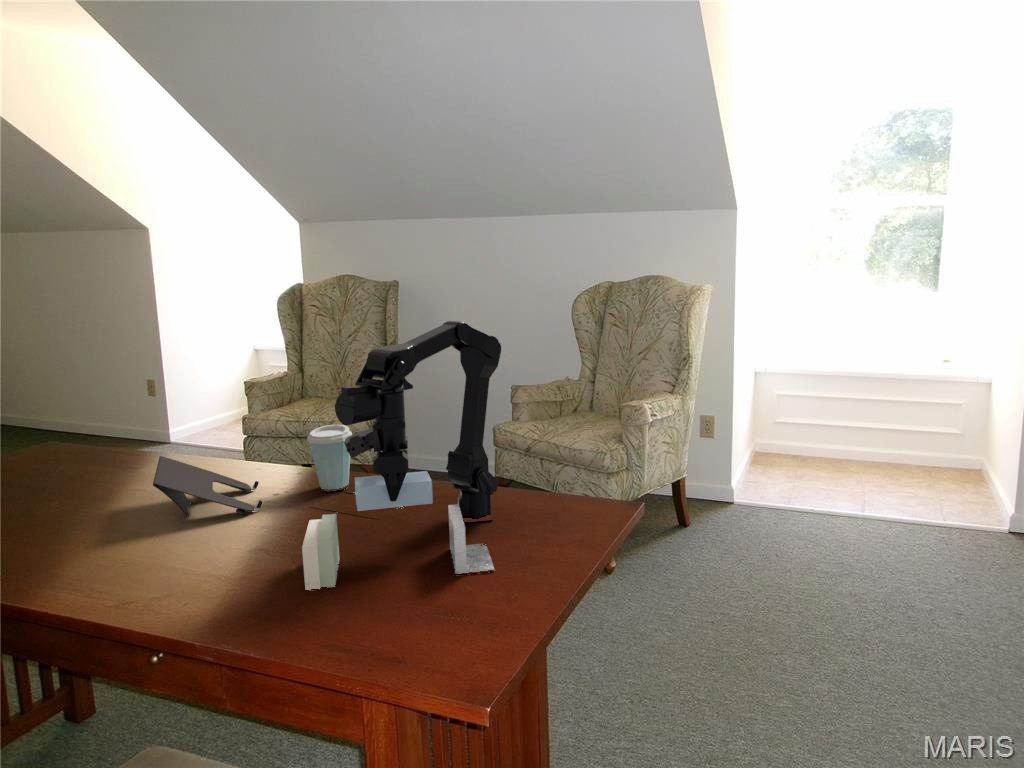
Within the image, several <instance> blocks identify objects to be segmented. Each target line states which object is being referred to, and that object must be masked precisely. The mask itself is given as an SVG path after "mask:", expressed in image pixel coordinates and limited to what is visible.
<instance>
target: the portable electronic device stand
mask: <svg viewBox="0 0 1024 768" xmlns="http://www.w3.org/2000/svg"><path fill="white" fill-rule="evenodd" d="M153 478H154V479H153V481H152V486H153V487H154V488H156V489H157V490H159V491H160V492H161V493H163V494H164V495H165V496H167V497H168V498H169V499H170V500H171V501H172V502H173V503H174V504H175V505H176V506H177V507H178V508H179V509H180V510H181V511H182V513H184V514H185V515H186V516H187V517H188V518H189V516H190V517H191V515H189V514H190V512H189V507H190V506H191V505H190V502H191V501H190V499H189V498H188V497H187V496H186V495H188V496H191V497H195V498H198V499H202V500H205V501H209V502H212V503H215V504H218V505H222V506H223V505H224V506H226V507H227V506H228V507H231V508H234V509H236V510H235V513H238V514H239V515H243V516H244V515H246V514H247V512H249V513H253V512H252V511H258V510H259V511H260V509H261V508H262V505H263V503H264V502H263V500H259V501H258V502H257V505H256V507H255V505H254V504H250V503H248V502H244V501H242V500H239V499H236V498H234V497H231V496H228V495H224V494H222V493H219V492H216V491H215V490H214V489H213V488H214V487H213V485H214V483H217V484H218V483H219V484H222V485H225V486H228V487H230V488H234V489H237V490H239V491H240V490H241V491H244V492H246V491H251V490H255V489H257V487H258V485H259V484H260V483H259V481H257V480H256V481H254V482H253V483H254V484H253V486H252V487H251V486H250V485H249V484H248V483H246V482H244V481H243V482H242V481H239V480H238V479H235V478H231V477H228V476H226V475H223V474H220V473H217V472H214V471H210V470H207V469H204V468H201V467H198V466H195V465H192V464H189V463H185V462H183V461H179V460H176V459H172V458H170V457H167V456H162V455H160V456H159V457H158V461H157V466H156V470H155V473H154V477H153ZM255 491H256V490H255ZM259 511H258V512H259Z"/></svg>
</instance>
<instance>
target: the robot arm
mask: <svg viewBox="0 0 1024 768" xmlns="http://www.w3.org/2000/svg"><path fill="white" fill-rule="evenodd" d="M450 347H451V348H453V349H454V350H457V352H459V353H460V355H459V357H460V364H461V367H462V369H463V372H464V374H465V384H464V393H463V394H464V395H463V404H462V414H461V424H460V433H459V443H458V444H457V446H456V448H455V449H454V450H453V451H452V450H449V451H448V453H447V464H446V467H445V471H447V476H448V477H447V478H449V480H450V481H451V484H452V487H453V489H454V490H459V491H460V492H459V493H460V495H457V504H459V507H460V511H461V514H462V518H472V519H479V518H482V517H485V516H487V515H492V495H493V494H494V493H495V492H497V491H498V486H499V480H498V479H497V478H496V477H495V476H493V474H492V473H491V472H490V471H489V458H488V454H487V452H486V450H485V448H484V437H485V435H484V434H485V425H486V416H487V408H488V407H487V406H488V397H489V389H490V388H489V387H490V378H491V377H492V375H494V373H495V371H496V370H497V368H498V366H499V363H500V362H499V361H500V359H501V353H502V344H501V342H499V339H498V338H497V337H496V336H493V335H489V334H486V333H484V332H483V331H480V330H478V329H476V328H473V327H472V326H471V325H469V324H467V323H465V322H464V321H457V320H448V321H446V322H444V323H442V325H439V326H438V327H435V328H433V329H431V330H429V331H427V332H425V333H423V334H420V335H418V336H417V337H414V338H412V339H410V340H408V341H405V342H403V343H397V344H389V345H385V346H381V347H375V348H373V349H372V350H370V351H369V352H368V353H367V358H366V361H365V364H364V365H363V367H362V369H361V372H360V373H359V376H358V378H357V379H356V382H355V385H353V386H348V385H346V386H341V388H340V392H341V393H340V394H339V395H338V396H337V398H336V402H335V404H334V412H335V415H336V417H337V420H338V421H339V422H340V423H341V425H346V426H351V425H355V424H360V423H363V422H368V421H373V422H372V427H370V428H367V429H364V430H361V431H359V432H356V433H354V434H352V435H351V436H349V437H347V438H346V439H345V442H344V444H345V446H346V448H347V449H346V451H347V452H349V455H350V459H353V458H356V457H358V456H359V455H361V454H364V453H365V452H368V451H371V450H372V449H373V452H374V453H375V452H376V454H375V455H374V456H373V460H372V461H373V462H372V465H373V468H372V469H373V473H375V474H379V475H381V476H382V477H383V478H384V480H385V484H386V487H387V491H388V494H389V498H390V501H396V500H397V498H398V495H399V492H400V489H401V486H402V484H403V481H404V479H405V476H406V473H408V471H409V455H408V452H409V451H408V449H409V446H408V445H409V443H408V436H407V430H406V429H407V428H406V409H405V406H406V405H405V391H407V390H412V389H414V385H413V384H412V383H410V382H409V381H408V380H407V379H406V377H408V375H410V374H411V373H412V372H414V371H415V369H416V366H417V365H418V364H419V363H421V362H422V361H425V360H426V359H428V358H430V357H432V356H435V355H436V354H438V353H440V352H442V351H444V350H446V349H448V348H450Z"/></svg>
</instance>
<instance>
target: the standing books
mask: <svg viewBox="0 0 1024 768" xmlns="http://www.w3.org/2000/svg"><path fill="white" fill-rule="evenodd" d="M337 518H338V517H337V513H331V514H330V513H329V514H322V515H321V518H319V519H318V518H317V519H310V520H309V521H308V525H307V528H306V531H305V535H304V539H303V542H302V546H301V551H302V554H301V555H302V562H303V563H302V565H303V566H302V567H303V577H304V588H305V589H304V590H309V591H312V590H311V589H319V590H321V589H322V588H321V587H327V588H336V586H335V585H337V584H336V583H337V577H338V572H337V571H338V570H339V565H338V564H340V550H339V549H340V548H339V535H338V531H339V530H338V521H337V520H338V519H337ZM320 588H321V589H320Z"/></svg>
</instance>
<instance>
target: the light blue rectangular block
mask: <svg viewBox="0 0 1024 768" xmlns="http://www.w3.org/2000/svg"><path fill="white" fill-rule="evenodd" d="M354 491H355V492H354V493H355V494H354V495H355V503H356V509H357V510H356V511H357V512H361V511H362V512H363V511H370V510H371V511H373V510H382V509H389V508H400V507H403V506H405V507H410V506H411V507H412V506H420V505H430V504H431V505H432V504H433V503H434V502H433V500H434V499H433V480H432V478H431V477H430V474H429V473H428V471H426V470H425V471H413V472H407V473H406V476H405V479H404V481H403V484H402V486H401V489H400V492H399V495H398V498H397V500H396V501H390V498H389V494H388V491H387V487H386V484H385V480H384V478H383V477H382V476H381V475H380V474H379V475H370V476H369V475H368V476H359V477H354ZM403 508H404V507H403Z"/></svg>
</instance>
